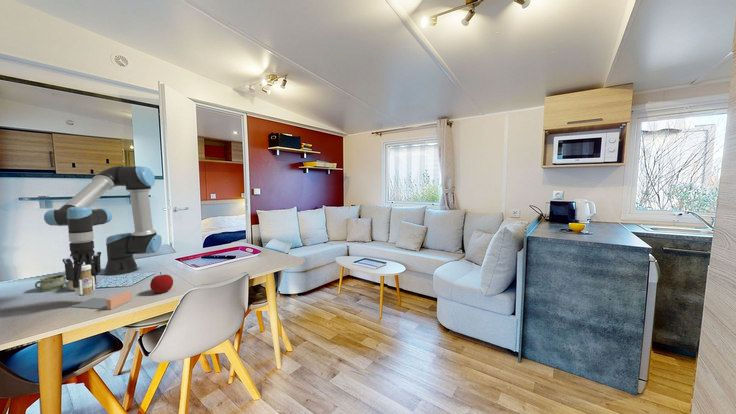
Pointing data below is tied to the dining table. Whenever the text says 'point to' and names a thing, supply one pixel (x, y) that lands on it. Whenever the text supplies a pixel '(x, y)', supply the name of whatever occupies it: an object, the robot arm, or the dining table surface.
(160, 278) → the apple
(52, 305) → the dining table surface
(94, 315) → the dining table surface
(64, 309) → the dining table surface
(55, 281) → the vessel
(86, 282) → the sprinkles bottle
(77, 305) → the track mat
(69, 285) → the ceramic mug
